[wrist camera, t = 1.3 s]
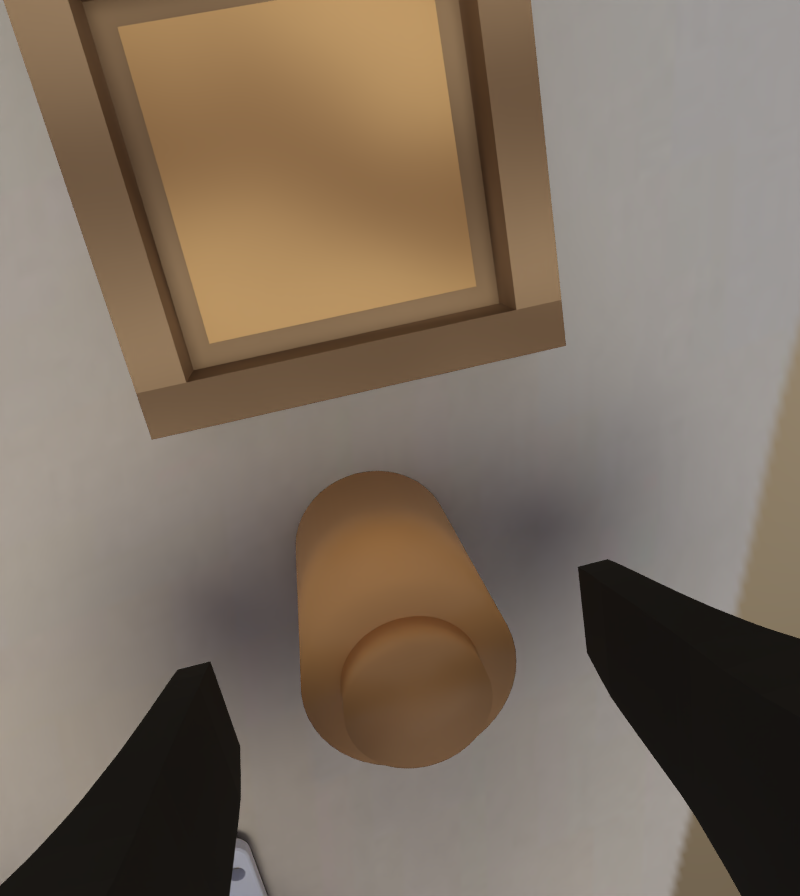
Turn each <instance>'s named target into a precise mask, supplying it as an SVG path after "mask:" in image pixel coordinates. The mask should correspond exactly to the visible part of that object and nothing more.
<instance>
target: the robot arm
mask: <svg viewBox="0 0 800 896" xmlns="http://www.w3.org/2000/svg"><path fill="white" fill-rule="evenodd" d="M578 572H579V581H580V590H581V600H582V609H583V619H584V628H585V637H586V647H587V653H588V655H589V657H590V659H591V661H592V663H593V665H594V667H595V669H596V671H597V672H598V674H599V676H600V678H601V680H602V682H603V684H604V685H605V687H606V689H607V691H608V693H609V694H610V696H611V698H612V699H613V701H614V702H615V703H616V705H617V706H618V708H619V709H620V711H621V712H622V713H623V715H624V716H625V718H626V719H627V720H628V722H629V723H630V725H631V726H632V727H633V729H634V730H635V732H636V733H637V734H638V736H639V737H640V739H641V740H642V741H643V743H644V744H645V745H646V747H647V748H648V750H649V751H650V752H651V754H652V755H653V757H654V758H655V759H656V761H657V762H658V763H659V765H660V766H661V768H662V769H663V770H664V772H665V773H666V775H667V776H668V777H669V779H670V780H671V781H672V783H673V784H674V786H675V787H676V788H677V790H678V791H679V792H680V794H681V795H682V797H683V798H684V800H685V801H686V803H687V804H688V806H689V807H690V809H691V810H692V812H693V813H694V815H695V816H696V818H697V820H698V821H699V823H700V825H701V826H702V828H703V830H704V832H705V833H706V835H707V837H708V838H709V840H710V842H711V843H712V845H713V847H714V849H715V850H716V852H717V854H718V856H719V857H720V859H721V860H722V862H723V864H724V866H725V867H726V869H727V871H728V873H729V874H730V876H731V878H732V880H733V882H734V883H735V885H736V887H737V889H738V891H739V892H740V894H741V896H800V639H799V638H796V637H793V636H789V635H786V634H783V633H780V632H777V631H774V630H771V629H767V628H765V627H762V626H759V625H756V624H754V623H751V622H748V621H745V620H743V619H741V618H738V617H735V616H733V615H730V614H728V613H725V612H723V611H720V610H718V609H715V608H713V607H711V606H708V605H706V604H704V603H701V602H699V601H697V600H694V599H692V598H690V597H688V596H686V595H683V594H681V593H679V592H677V591H675V590H673V589H670V588H668V587H666V586H664V585H662V584H660V583H658V582H656V581H654V580H651V579H649V578H647V577H645V576H643V575H641V574H639V573H637V572H635V571H633V570H631V569H628V568H626V567H624V566H622V565H620V564H618V563H615V562H613V561H610V560H608V559H607V560H603V561H599V562H595V563H591V564H587V565H584V566H580V567H578ZM240 800H241V769H240V745H239V742H238V739H237V736H236V733H235V730H234V728H233V725H232V722H231V719H230V716H229V713H228V710H227V708H226V705H225V702H224V699H223V696H222V693H221V690H220V688H219V685H218V682H217V679H216V676H215V673H214V671H213V668H212V665H211V662H207V663H203V664H199V665H195V666H191V667H187V668H183V669H179V670H177V672H176V673H175V674H174V676H173V677H172V678H171V680H170V681H169V683H168V684H167V685H166V687H165V688H164V690H163V691H162V693H161V694H160V696H159V697H158V698H157V700H156V701H155V703H154V704H153V706H152V707H151V709H150V710H149V711H148V713H147V714H146V716H145V717H144V719H143V720H142V721H141V723H140V724H139V726H138V727H137V728H136V730H135V731H134V733H133V734H132V735H131V737H130V738H129V740H128V741H127V742H126V744H125V745H124V746H123V748H122V749H121V751H120V752H119V753H118V755H117V756H116V757H115V758H114V760H113V761H112V762H111V763H110V765H109V766H108V767H107V769H106V770H105V771H104V772H103V774H102V775H101V776H100V777H99V779H98V780H97V781H96V782H95V784H94V785H93V786H92V787H91V789H90V790H89V791H88V793H87V794H86V795H85V796H84V798H83V799H82V800H81V801H80V802H79V804H78V805H77V806H76V807H75V808H74V809H73V811H72V812H71V813H70V814H69V815H68V816H67V817H66V819H65V820H64V821H63V822H62V823H61V824H60V825H59V826H58V828H57V829H56V830H55V831H54V832H53V833H52V834H51V835H50V836H49V837H48V838H47V839H46V840H45V842H44V843H43V844H42V845H41V846H40V847H39V848H38V849H37V850H36V851H35V852H34V853H33V854H32V855H31V856H30V857H29V858H28V859H27V860H26V861H25V862H24V863H23V864H22V865H21V866H20V867H19V868H18V869H17V870H16V871H15V872H14V873H13V874H12V875H11V876H10V877H9V878H8V879H7V880H6V881H5V882H4V883H3V884H2V885H0V896H267V893H266V890H265V888H264V885H263V882H262V879H261V877H260V874H259V871H258V869H257V866H256V863H255V860H254V858H253V855H252V852H251V850H250V847H249V845H248V844H247V842H245V841H243V840H242V839H238V838H236V837H237V828H238V819H239V810H240ZM237 867H239V868H238V869H234V868H237Z"/></svg>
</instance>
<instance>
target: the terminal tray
mask: <svg viewBox="0 0 800 896" xmlns="http://www.w3.org/2000/svg"><path fill="white" fill-rule="evenodd" d="M3 1H4V3H5V6H6V9H7V12H8V15H9V18H10V21H11V24H12V27H13V30H14V33H15V36H16V39H17V42H18V45H19V48H20V51H21V54H22V57H23V60H24V63H25V66H26V69H27V72H28V74H29V77H30V80H31V83H32V86H33V89H34V92H35V95H36V98H37V101H38V104H39V107H40V110H41V113H42V116H43V119H44V122H45V125H46V128H47V131H48V134H49V137H50V140H51V142H52V145H53V148H54V151H55V154H56V157H57V160H58V163H59V166H60V169H61V172H62V175H63V178H64V181H65V184H66V187H67V190H68V193H69V196H70V199H71V202H72V205H73V208H74V211H75V213H76V216H77V219H78V222H79V225H80V228H81V231H82V234H83V237H84V240H85V243H86V246H87V249H88V252H89V255H90V258H91V261H92V264H93V267H94V270H95V273H96V276H97V279H98V281H99V284H100V287H101V290H102V293H103V296H104V299H105V302H106V305H107V308H108V311H109V314H110V317H111V320H112V323H113V326H114V329H115V332H116V335H117V338H118V341H119V344H120V347H121V349H122V352H123V355H124V358H125V361H126V364H127V367H128V370H129V373H130V376H131V379H132V382H133V385H134V388H135V391H136V394H137V397H138V400H139V403H140V406H141V409H142V412H143V415H144V418H145V420H146V423H147V426H148V429H149V432H150V435H151V438H152V439H157V438H161V437H166V436H170V435H175V434H179V433H183V432H188V431H192V430H197V429H201V428H205V427H210V426H214V425H219V424H223V423H227V422H232V421H236V420H241V419H245V418H249V417H254V416H258V415H263V414H267V413H271V412H276V411H280V410H285V409H289V408H293V407H298V406H302V405H307V404H311V403H315V402H320V401H324V400H329V399H333V398H338V397H342V396H346V395H351V394H355V393H360V392H364V391H368V390H373V389H377V388H382V387H386V386H390V385H395V384H399V383H404V382H408V381H412V380H417V379H421V378H426V377H430V376H434V375H439V374H443V373H448V372H452V371H456V370H461V369H465V368H470V367H474V366H478V365H483V364H487V363H492V362H496V361H500V360H505V359H509V358H514V357H518V356H523V355H527V354H531V353H536V352H540V351H545V350H549V349H553V348H558V347H562V346H566V341H565V331H564V322H563V312H562V302H561V292H560V283H559V273H558V263H557V253H556V243H555V234H554V224H553V214H552V204H551V194H550V185H549V175H548V165H547V155H546V145H545V136H544V126H543V116H542V106H541V96H540V87H539V77H538V67H537V57H536V47H535V38H534V28H533V18H532V8H531V0H3Z"/></svg>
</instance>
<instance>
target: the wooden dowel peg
mask: <svg viewBox="0 0 800 896" xmlns="http://www.w3.org/2000/svg"><path fill="white" fill-rule="evenodd" d="M296 567H297V594H298V620H299V646H300V672H301V695H302V700H303V705H304V708H305V711H306V713H307V716H308V718H309V720H310V722H311V723H312V725H313V727H314V728H315V730H316V731H317V732H318V733H319V734H320V736H321V737H322V738H323V739H324V740H325V741H326V742H328V743H329V744H330V745H331V746H332V747H334V748H335V749H337V750H338V751H340V752H342V753H344V754H346V755H348V756H350V757H352V758H354V759H357V760H360V761H363V762H367V763H372V764H377V765H386V766H391V767H396V768H419V767H425V766H430V765H433V764H436V763H439V762H442V761H444V760H447V759H449V758H451V757H452V756H454V755H456V754H458V753H459V752H460V751H462V750H463V749H465V748H466V747H467V746H468V745H469V744H470V743H471V742H472V741H473V740H474V739H475V738H476V737H477V736H478V735H479V734H480V733H481V732H483V731H484V730H485V729H486V728H487V727H488V726H489V725H490V723H491V722H492V721H493V720H494V719H495V718H496V716H497V715H498V714H499V712H500V711H501V709H502V708H503V706H504V704H505V702H506V700H507V698H508V696H509V694H510V691H511V688H512V686H513V682H514V677H515V672H516V651H515V646H514V642H513V638H512V635H511V633H510V631H509V628H508V626H507V624H506V623H505V621H504V619H503V617H502V615H501V614H500V612H499V610H498V608H497V606H496V605H495V603H494V601H493V599H492V597H491V596H490V594H489V592H488V590H487V588H486V587H485V585H484V583H483V581H482V579H481V578H480V576H479V574H478V572H477V570H476V569H475V567H474V565H473V563H472V561H471V560H470V558H469V556H468V554H467V553H466V551H465V549H464V547H463V545H462V544H461V542H460V540H459V538H458V536H457V535H456V533H455V531H454V529H453V527H452V526H451V524H450V522H449V520H448V518H447V517H446V515H445V513H444V511H443V509H442V508H441V506H440V504H439V503H438V501H437V500H436V498H435V497H434V496H433V495H432V493H431V492H429V491H428V490H427V489H426V488H425V487H424V486H422V485H421V484H420V483H418V482H417V481H415V480H413V479H411V478H409V477H406V476H403V475H400V474H397V473H392V472H385V471H368V472H362V473H357V474H353V475H350V476H347V477H345V478H343V479H340V480H338V481H336V482H335V483H333V484H331V485H330V486H328V487H327V488H326V489H324V490H323V491H322V492H320V494H319V495H318V496H317V497H316V498H315V499H314V500H313V501H312V502H311V503H310V505H309V506H308V507H307V509H306V511H305V513H304V514H303V516H302V519H301V521H300V523H299V526H298V530H297V535H296Z"/></svg>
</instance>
